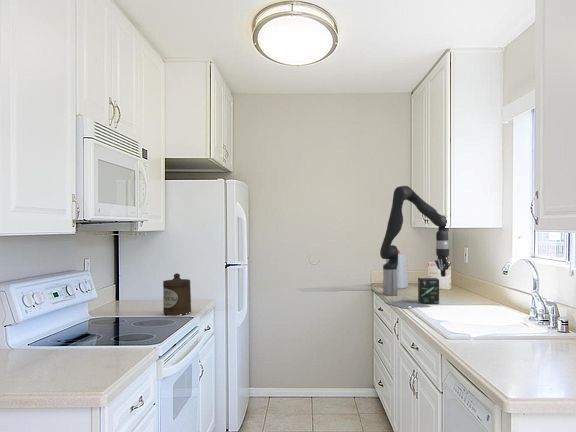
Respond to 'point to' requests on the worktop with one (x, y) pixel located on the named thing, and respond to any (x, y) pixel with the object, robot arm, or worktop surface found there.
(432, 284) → the tampon box
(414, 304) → the display mat
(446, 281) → the coffeecake box
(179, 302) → the wooden container
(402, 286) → the plastic bottle
